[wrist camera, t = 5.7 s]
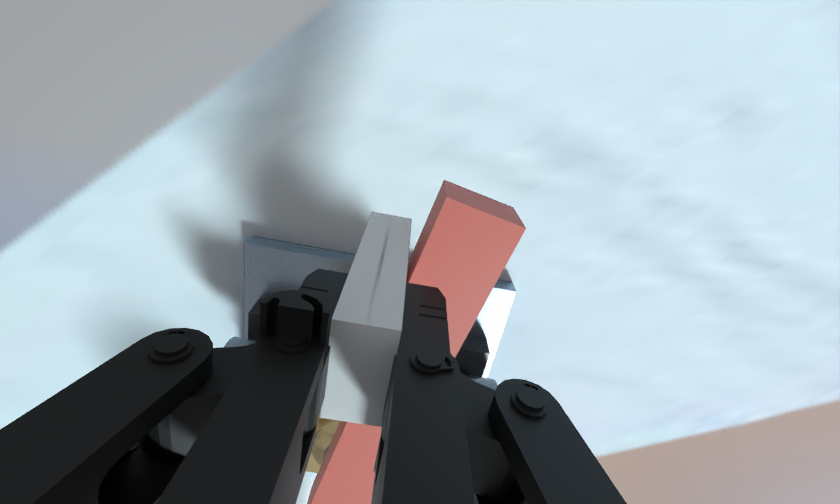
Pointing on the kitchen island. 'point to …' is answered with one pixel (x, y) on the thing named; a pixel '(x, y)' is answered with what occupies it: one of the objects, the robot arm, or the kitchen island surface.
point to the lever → (465, 297)
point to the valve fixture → (291, 263)
